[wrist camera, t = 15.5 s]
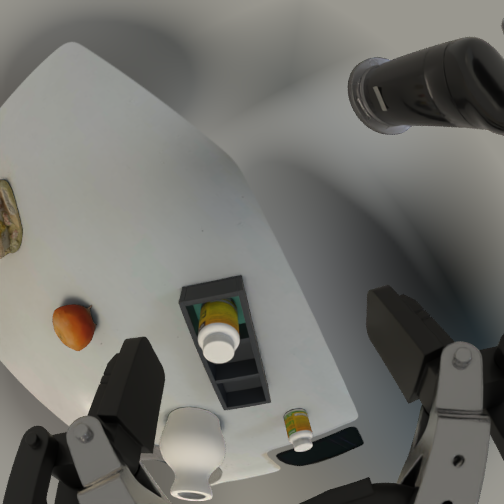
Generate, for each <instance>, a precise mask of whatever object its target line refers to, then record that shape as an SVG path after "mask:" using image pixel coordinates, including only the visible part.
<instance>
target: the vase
mask: <svg viewBox="0 0 504 504" xmlns="http://www.w3.org/2000/svg"><path fill="white" fill-rule="evenodd" d="M159 444H160V450H161V454H162V457H163V459H164V460H165V461H166V463H167V464H168V465H169V466H170V467H171V468H172V470H173V471H174V473H175V481H174V483H173V485H172V487H171V495H173V496H174V497H176V498H179V499H183V500H189V501H205V500H209V499H211V498H212V495H213V494H212V489H211V487H210V485H209V482H208V479H209V477H210V475H211V474H212V472H213V471H214V470H215V469H217V468H218V467H219V466H220V465H221V464H222V462H223V461H224V458H225V452H226V444H225V440H224V437H223V434H222V431H221V428H220V420H219V419H218V417H217V416H216V415H215V414H213V413H211V412H210V411H207V410H204V409H200V408H191V407H186V408H178V409H176V410H174V411H172V412H171V413H170V414H169V416H168V420H167V423H166V426H165V428H164V430H163V432H162V435H161V438H160V443H159Z"/></svg>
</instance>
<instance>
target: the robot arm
mask: <svg viewBox="0 0 504 504" xmlns="http://www.w3.org/2000/svg"><path fill="white" fill-rule="evenodd" d="M502 30H503V33H504V18H503V21H502ZM360 94H361V98H362V101H363V104H364V106H365V108H366V109H367V111H368V112H369V114H370V115H371V116H372V117H373V118H374V119H376V120H377V121H378V122H380V123H382V124H384V125H388V126H400V125H410V126H443V127H459V128H473V129H482V130H489V131H491V132H493V133H496V134H499V135H503V136H504V59H503V58H502V56H501V55H500V54H499V53H498V52H497V50H495V48H494V47H492V46H491V45H490V44H489V43H487V42H486V41H484V40H482V39H480V38H476V37H465V38H460V39H457V40H454V41H449V42H445V43H442V44H438V45H435V46H432V47H429V48H426V49H423V50H419V51H416V52H413V53H410V54H407V55H404V56H401V57H399V58H396V59H393V60H390V61H387V62H385V63H382V64H378V65H375V66H373V67H371V68H369V69H368V70H367V71H366V72H365V73H364V74H363V76H362V79H361V82H360ZM366 328H367V333H368V336H369V338H370V340H371V342H372V344H373V345H374V347H375V348H376V350H377V352H378V353H379V355H380V356H381V358H382V360H383V361H384V363H385V365H386V366H387V368H388V370H389V371H390V373H391V375H392V376H393V378H394V379H395V381H396V383H397V385H398V386H399V388H400V390H401V391H402V393H403V395H404V396H405V398H406V400H407V402H408V403H411V402H413V401H415V400H418V399H420V401H421V403H422V406H421V410H420V414H419V418H418V423H417V427H416V430H415V434H414V438H413V442H412V445H411V449H410V452H409V456H408V458H407V460H406V462H405V464H404V467H403V468H402V471H401V473H400V476H399V478H398V481H397V483H375V484H371V481H370V478H369V477H368V478H365V479H362V480H360V481H357V482H354V483H350V484H347V485H344V486H341V487H337V488H334V489H330V490H328V491H326V492H324V493H322V494H319V495H317V496H315V497H313V498H311V499H309V500H307V501H305V502H302V503H300V504H478V502H479V498H480V494H481V489H482V484H483V479H484V474H485V469H486V462H487V455H488V447H489V438H490V435H491V437H492V439H493V441H494V443H495V444H496V446H497V448H498V450H499V452H500V454H501V456H502V458H503V460H504V335H502V337H501V339H500V341H499V344H498V346H496V347H492V348H487V349H483V350H478V349H477V348H476V347H475V346H473V345H472V344H469V343H466V342H454V341H453V340H452V339H451V338H450V336H449V335H448V334H447V333H446V332H445V331H444V330H443V329H442V328H441V327H440V326H439V324H438V323H437V322H436V321H435V320H434V319H433V318H432V317H430V315H429V314H428V313H427V312H426V311H424V310H423V308H422V307H421V305H420V304H419V303H418V302H417V301H416V300H414V299H412V298H410V297H408V296H406V295H404V294H403V295H400V296H399V295H398V294H397V293H396V292H395V291H394V290H393V288H392V287H390V286H389V285H386V286H382V287H379V288H376V289H372V290H369V291H368V294H367V318H366ZM100 383H101V384H100V385H99V387H98V389H97V392H96V394H95V397H94V400H93V402H92V405H91V408H90V410H89V413H88V416H83V417H80V418H78V419H76V420H75V421H74V422H73V423H72V424H71V425H70V427H69V428H68V431H67V432H65V433H60V434H55V435H51V434H50V433H49V432H48V431H47V430H46V429H45V428H43V427H42V426H34V427H32V428H30V429H29V430H28V431H26V433H25V434H24V436H23V438H22V440H21V443H20V446H19V449H18V451H17V455H16V457H15V461H14V464H13V467H12V470H11V474H10V477H9V480H8V484H7V488H6V492H5V496H4V500H3V504H47V500H46V498H47V492H48V488H49V483H50V479H51V475H52V476H54V477H55V478H57V479H58V480H59V483H58V488H57V493H56V498H55V504H172V503H171V502H170V501H169V500H168V499H167V497H166V496H165V495H164V493H163V492H162V491H161V489H160V488H159V486H158V485H157V484H156V482H155V481H154V479H153V478H152V477H151V475H150V474H149V472H148V471H147V469H146V468H145V466H144V465H143V463H142V462H141V461H140V455H141V453H153V448H154V441H155V435H156V428H157V422H158V416H159V410H160V405H161V399H162V394H163V388H164V383H165V374H164V370H163V367H162V365H161V363H160V361H159V359H158V357H157V355H156V354H155V352H154V350H153V348H152V346H151V344H150V342H149V340H148V339H147V338H146V337H138V338H130V339H126V340H125V341H124V343H123V345H122V348H121V350H120V353H116V355H115V356H114V357H113V358H112V359H111V360H110V361H109V363H108V364H107V367H106V369H105V372H104V376H103V377H102V379H101V382H100Z"/></svg>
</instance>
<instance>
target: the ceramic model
mask: <svg viewBox="0 0 504 504" xmlns="http://www.w3.org/2000/svg"><path fill="white" fill-rule="evenodd" d="M22 233H23V232H22V225H21V221H20V217H19V213H18V209H17V206H16V202H15V199H14V195H13V192H12V189H11V188H10V186H9V184H8V182H6V181H5V180H0V259H1V258H2V257H4V256H5V255H7V254H8V253H15V252H16V251H17V250H18V249H19V247H20V245H21V241H22Z"/></svg>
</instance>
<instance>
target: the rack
mask: <svg viewBox="0 0 504 504" xmlns="http://www.w3.org/2000/svg"><path fill="white" fill-rule="evenodd" d="M226 298H231V299H232V300H233V301H234V302H235V304H236V307H237V314H238V325H239V336H240V342H239V346H238V347H237V349H236V350H235V351H234V356H233V358H232V359H231V360H229V361H228V362H225V363H213V362H210V361H208V360H207V359H206V358H205V357H204V355H203V350H202V349H201V347H200V346H199V344H198V330H199V320H200V311H201V306H202V303H205V302H211V301H216V300H221V299H226ZM179 305H180V308H181V310H182V313H183V316H184V318H185V321H186V324H187V326H188V329H189V331H190V334H191V336H192V339H193V341H194V344H195V346H196V349H197V351H198V353H199V356H200V358H201V360H202V363H203V365H204V367H205V370H206V372H207V374H208V377H209V379H210V381H211V383H212V386H213V388H214V390H215V392H216V394H217V396H218V399H219V401H220V403H221V405H222V407H223V409H224V410H230V409H237V408H243V407H249V406H255V405H260V404H266V403H271V400H270V394H269V389H268V384H267V380H266V376H265V372H264V368H263V364H262V360H261V356H260V352H259V348H258V343H257V339H256V335H255V331H254V327H253V323H252V318H251V314H250V310H249V306H248V301H247V297H246V293H245V289H244V284H243V280H242V276H241V275H240V276H235V277H231V278H226V279H221V280H216V281H211V282H206V283H201V284H196V285H191V286H186V287H182V291H181V295H180V299H179Z"/></svg>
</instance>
